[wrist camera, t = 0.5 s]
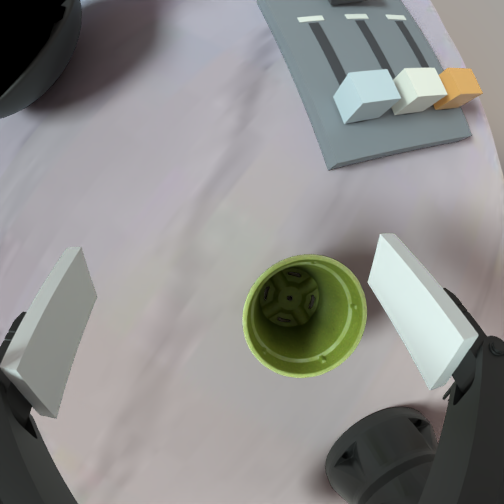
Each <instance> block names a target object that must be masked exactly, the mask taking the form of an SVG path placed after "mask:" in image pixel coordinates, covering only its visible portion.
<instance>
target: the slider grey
mask: <svg viewBox="0 0 504 504" xmlns="http://www.w3.org/2000/svg"><path fill="white" fill-rule="evenodd" d="M333 98H334V100H335V103H336V105H337V107H338V110H339V112H340V115H341V117H342V120H343V122H344V124H347V123H352V122H357V121H363V120H368V119H374V118H379V117H380V116H381V115H383V114H384V113H385V112H386V111H387V110H388V109H390V108H391V107H392V106H393V105H394V104H395V103H396V102H398V101H399V100H400V99H401V97H400V94H399V92H398V90H397V88H396V86H395V84H394V82H393V80H392V77H391V75H390V73H389V71H388V69H382V70H370V71H359V72H350V73H348V74H347V76H346V78H345V79H344V81H343V82H342V84H341V85H340V87H339V88H338V90H337V91H336V93H335V95H334V96H333Z"/></svg>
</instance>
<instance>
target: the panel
mask: <svg viewBox="0 0 504 504" xmlns="http://www.w3.org/2000/svg"><path fill="white" fill-rule="evenodd" d="M257 4H258V6H259V8H260V10H261V12H262V14H263V16H264V18H265V20H266V22H267V24H268V26H269V28H270V30H271V32H272V34H273V36H274V38H275V40H276V42H277V44H278V46H279V48H280V51H281V53H282V55H283V57H284V59H285V62H286V64H287V66H288V68H289V71H290V73H291V75H292V77H293V80H294V82H295V84H296V87H297V89H298V92H299V94H300V96H301V99H302V101H303V104H304V106H305V109H306V111H307V114H308V116H309V119H310V122H311V124H312V127H313V129H314V132H315V135H316V137H317V140H318V143H319V146H320V148H321V151H322V154H323V157H324V160H325V163H326V166H327V168H328V170H332V169H336V168H339V167H343V166H347V165H351V164H356V163H360V162H364V161H368V160H372V159H376V158H381V157H385V156H390V155H394V154H398V153H403V152H408V151H412V150H417V149H422V148H427V147H432V146H437V145H442V144H447V143H452V142H458V141H460V140H463V139H465V138H467V137H470V136H472V134H471V132H470V129H469V126H468V124H467V121H466V119H465V116H464V114H463V111H462V109H461V107H458V108H450V109H440V110H435V108H434V105H432V106H430V107H429V108H427V109H426V110H424V111H422V112H414V113H407V114H400V115H394V113H393V110H392V108H390V109H388V110H387V111H386V112H385V113H384V114H383V115H381V116H380V117H379V118H374V119H368V120H363V121H357V122H352V123H347V124H344V122H343V120H342V117H341V115H340V112H339V110H338V107H337V105H336V103H335V100H334V98H333V96H334V95H335V93H336V91H337V90H338V88H339V87H340V85H341V84H342V82H343V81H344V79H345V78H346V76H347V74H348V73H350V72H359V71H370V70H382V69H388V71H389V73H390V75H391V77H392V80H393V79H394V78H395V77H396V76H397V75H398V74H399V73H400V72H401V71H402V70H403V69H404V68H435V69H436V71H437V73H438V75H439V74H441V73H442V72H443V69H442V67H441V65H440V63H439V61H438V59H437V57H436V56H435V54H434V52H433V50H432V48H431V47H430V45H429V43H428V42H427V40H426V38H425V37H424V35H423V33H422V32H421V30H420V28H419V27H418V25H417V24H416V22H415V21H414V19H413V18H412V16H411V15H410V13H409V12H408V10H407V9H406V7H405V6H404V5H403V3H402V2H401V0H366V1H357V2H350V3H342V4H336V5H330V3H329V2H328V0H257Z"/></svg>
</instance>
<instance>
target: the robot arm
mask: <svg viewBox="0 0 504 504" xmlns="http://www.w3.org/2000/svg"><path fill="white" fill-rule="evenodd" d="M368 284H369V286H370V287H371V289H372V290H373V292H374V294H375V295H376V297H377V298H378V300H379V302H380V303H381V305H382V307H383V308H384V310H385V312H386V313H387V315H388V317H389V318H390V320H391V322H392V323H393V325H394V327H395V328H396V330H397V332H398V334H399V335H400V337H401V339H402V341H403V342H404V344H405V346H406V348H407V349H408V351H409V353H410V355H411V357H412V358H413V360H414V362H415V364H416V366H417V368H418V369H419V371H420V373H421V375H422V377H423V379H424V381H425V383H426V385H427V386H428V388H429V390H433V389H435V388H438V387H441V386H444V385H445V384H446V383H447V381H448V380H449V378H450V377H451V376H453V378H454V380H455V382H454V383H453V384H452V386H451V387H450V388H449V390H448V391H447V392H446V393H445V395H444V397H443V399H444V400H445V399H446V398H447V396H448V395H449V394H450V397H449V400H448V401H449V402H448V407H447V412H446V416H445V421H444V425H443V429H442V433H441V437H440V440H439V444H438V443H437V440H436V436H435V433H434V430H433V427H432V425H431V424H430V422H429V421H428V420H427V419H426V418H425V417H424V416H423V415H422V414H421V413H420V412H419V411H417V410H415V409H412V408H408V407H394V408H389V409H385V410H382V411H379V412H376V413H374V414H372V415H370V416H368V417H366V418H364V419H362V420H361V421H359V422H357V423H356V424H355V425H353V426H352V427H351V428H349V429H348V430H347V431H346V432H345V433H344V434H343V435H342V436H341V437H340V438H339V439H338V440H337V441H336V442H335V444H334V445H333V447H332V448H331V450H330V452H329V454H328V456H327V459H326V465H325V469H326V474H327V477H328V479H329V482H330V484H331V486H332V488H333V489H334V490H335V491H336V492H337V493H338V494H339V495H340V496H341V497H342V498H343V499H344V500H345V501H347V502H348V503H349V504H504V341H503V340H501V339H500V338H498V337H495V336H486V334H485V333H484V332H483V330H482V329H481V328H480V326H479V325H478V324H477V322H476V321H475V320H474V318H473V317H472V316H471V315H470V313H469V312H467V309H466V308H465V307H464V306H463V305H462V303H461V302H460V301H459V299H458V298H457V297H456V296H455V295H454V294H453V293H451V292H450V291H449V290H447V289H446V288H442V287H441V286H440V285H439V283H438V282H437V281H436V280H435V279H434V277H433V276H432V275H431V274H430V273H429V272H428V270H427V269H426V268H425V267H424V266H423V265H422V264H421V262H420V261H419V260H418V259H417V258H416V257H415V256H414V255H413V253H412V252H411V251H410V250H409V249H408V248H407V247H406V246H405V245H404V244H403V242H402V241H401V240H400V239H399V238H398V237H397V236H396V235H395V234H394V233H383V234H380V236H379V240H378V244H377V248H376V252H375V256H374V260H373V264H372V268H371V272H370V275H369V279H368ZM96 299H97V294H96V291H95V289H94V286H93V283H92V280H91V277H90V274H89V270H88V267H87V264H86V261H85V258H84V254H83V251H82V247H71V248H66V250H65V251H64V253H63V254H62V256H61V257H60V259H59V260H58V262H57V263H56V265H55V266H54V268H53V269H52V271H51V272H50V274H49V276H48V277H47V279H46V280H45V282H44V284H43V285H42V287H41V288H40V290H39V292H38V293H37V295H36V297H35V299H34V300H33V302H32V304H31V305H30V307H29V309H28V311H27V312H22V313H21V314H20V315H19V316H18V317H17V318H16V319H15V320H14V322H13V324H12V326H11V327H10V329H9V333H7V335H6V337H5V341H3V343H2V345H1V347H0V504H78V503H77V501H76V500H75V498H74V497H73V495H72V493H71V492H70V490H69V488H68V487H67V485H66V483H65V482H64V480H63V478H62V476H61V475H60V473H59V471H58V469H57V467H56V465H55V463H54V461H53V460H52V458H51V456H50V454H49V452H48V449H47V447H46V445H45V443H44V441H43V439H42V437H41V434H40V432H39V430H38V428H37V425H36V423H35V421H34V418H33V417H32V415H31V414H30V411H31V408H32V407H33V408H34V409H35V410H36V411H37V412H38V413H39V415H42V416H47V417H52V418H57V415H58V411H59V407H60V404H61V400H62V396H63V393H64V389H65V386H66V383H67V379H68V376H69V373H70V370H71V367H72V364H73V361H74V358H75V355H76V352H77V349H78V346H79V343H80V340H81V338H82V335H83V332H84V329H85V327H86V324H87V321H88V319H89V316H90V314H91V311H92V309H93V306H94V304H95V301H96Z"/></svg>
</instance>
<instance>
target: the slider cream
mask: <svg viewBox="0 0 504 504" xmlns="http://www.w3.org/2000/svg"><path fill="white" fill-rule="evenodd" d="M393 82H394V84H395V86H396V88H397V90H398V92H399V94H400V97H401V99H400V100H399V101H398V102H396V103H395V104H394V105H393V106H392V107H391V108H392V110H393V113H394V115H400V114H407V113H414V112H422V111H424V110H426V109H427V108H429V107H430V106H432V105H433V104H434V103H436V102H437V101H439V100H440V99H442V98H443V97H445V96H446V95H448V94H447V92H446V90H445V88H444V85H443V83H442V81H441V79H440V77H439V75H438V73H437V71H436V69H435V68H404V69H403V70H402V71H401V72H400V73H399V74H398V75H397V76H396V77H395V78H394V79H393Z"/></svg>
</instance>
